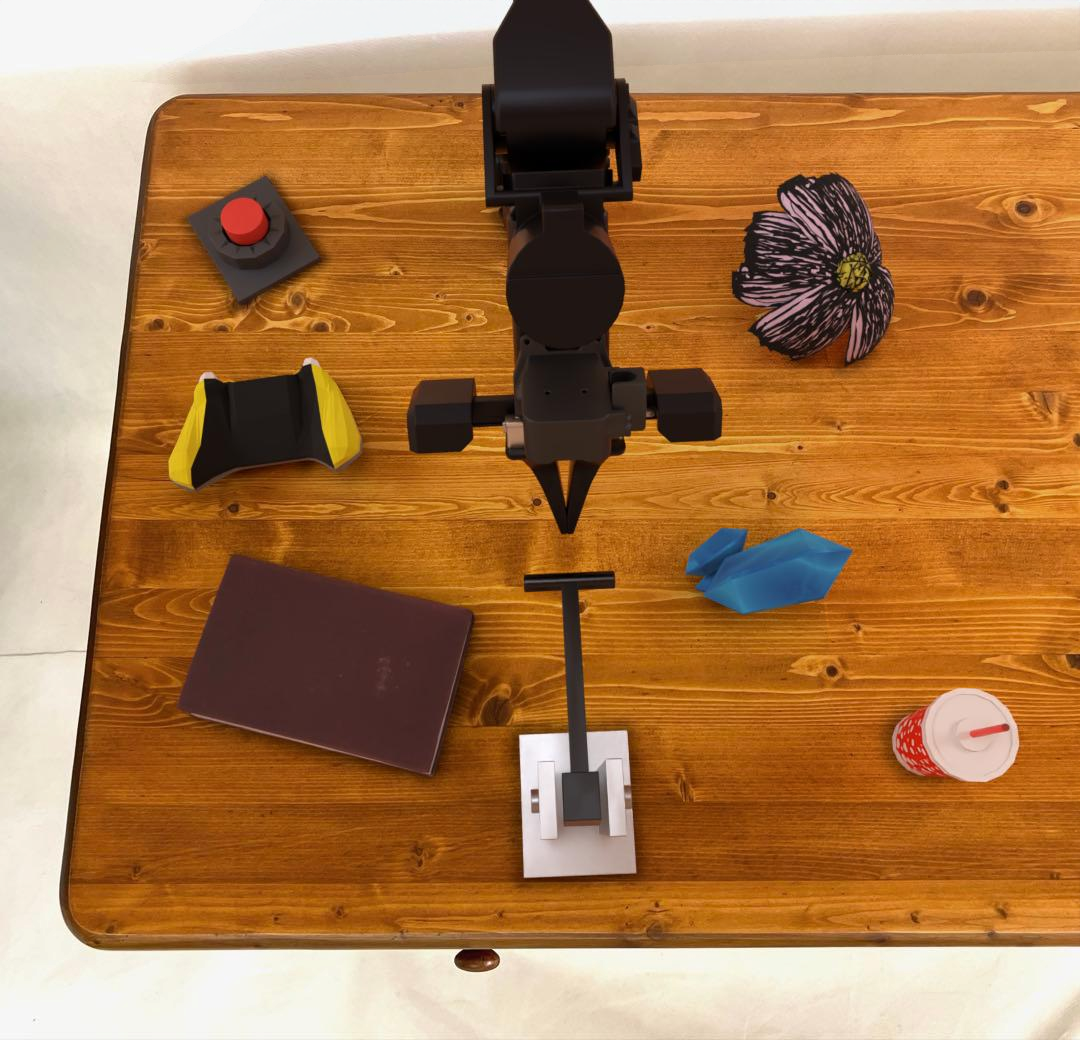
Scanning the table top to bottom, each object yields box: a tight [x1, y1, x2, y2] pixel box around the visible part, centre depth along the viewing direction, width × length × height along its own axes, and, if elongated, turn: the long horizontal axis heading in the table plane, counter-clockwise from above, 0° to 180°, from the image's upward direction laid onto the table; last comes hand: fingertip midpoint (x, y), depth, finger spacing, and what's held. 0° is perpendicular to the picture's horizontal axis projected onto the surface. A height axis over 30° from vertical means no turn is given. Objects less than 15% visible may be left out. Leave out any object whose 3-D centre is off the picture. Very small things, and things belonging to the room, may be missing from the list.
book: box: [175, 553, 476, 778], centre depth 74 cm, size 12×19×3 cm, turn 76°
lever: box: [523, 570, 616, 827], centre depth 61 cm, size 16×6×2 cm, turn 2°
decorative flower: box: [731, 170, 896, 368], centre depth 79 cm, size 15×12×15 cm
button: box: [221, 198, 268, 245], centre depth 83 cm, size 4×4×2 cm
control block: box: [186, 174, 322, 306], centre depth 85 cm, size 10×8×2 cm
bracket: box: [518, 729, 637, 879], centre depth 64 cm, size 10×8×16 cm
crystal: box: [684, 527, 854, 616], centre depth 73 cm, size 7×9×12 cm
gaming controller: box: [167, 356, 364, 493], centre depth 78 cm, size 15×6×10 cm
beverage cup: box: [891, 687, 1020, 783], centre depth 66 cm, size 6×6×14 cm
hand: (567, 531), depth 64 cm, fingers closed
